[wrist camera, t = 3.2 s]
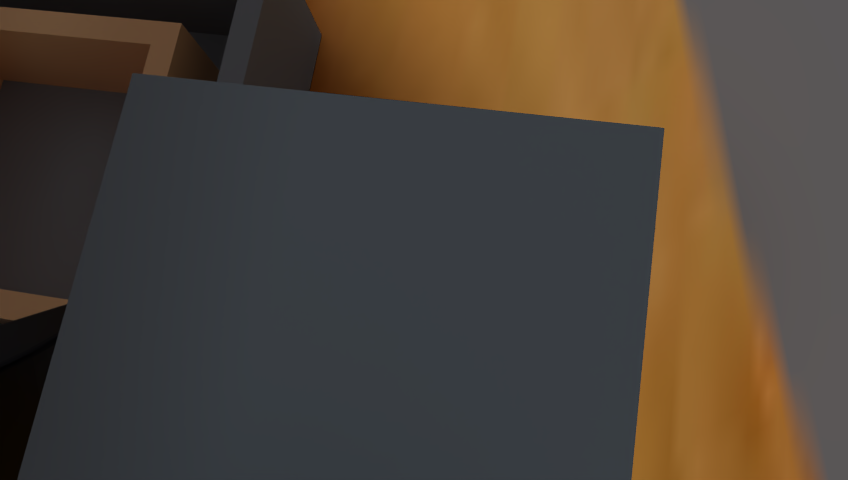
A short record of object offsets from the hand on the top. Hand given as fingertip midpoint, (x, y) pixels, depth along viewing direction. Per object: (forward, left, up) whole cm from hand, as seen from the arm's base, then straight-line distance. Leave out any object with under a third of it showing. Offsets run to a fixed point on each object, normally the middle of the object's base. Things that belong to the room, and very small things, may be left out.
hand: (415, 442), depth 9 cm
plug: (+1, 0, -8) cm, 8 cm away
